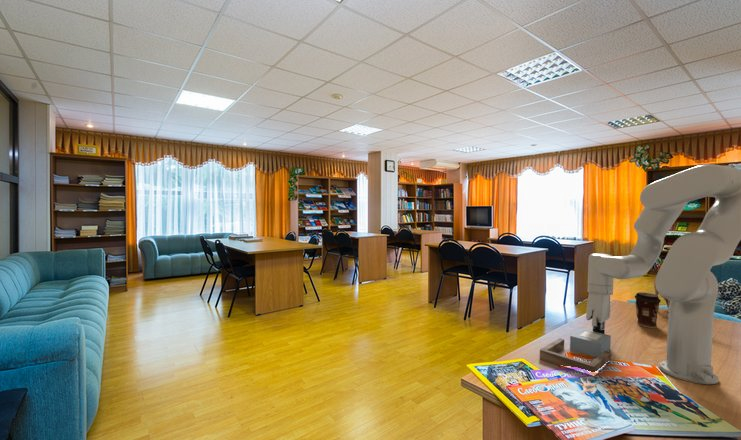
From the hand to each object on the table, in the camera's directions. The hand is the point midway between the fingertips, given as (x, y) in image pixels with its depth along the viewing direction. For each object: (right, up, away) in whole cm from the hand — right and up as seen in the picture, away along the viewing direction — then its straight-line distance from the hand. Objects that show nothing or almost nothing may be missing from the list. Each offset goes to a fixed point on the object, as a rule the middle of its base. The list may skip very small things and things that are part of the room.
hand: (598, 339), depth 122 cm
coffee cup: (+33, -1, +21) cm, 39 cm away
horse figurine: (+57, -1, +33) cm, 66 cm away
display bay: (-16, -2, -14) cm, 21 cm away
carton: (-6, -2, -5) cm, 8 cm away
